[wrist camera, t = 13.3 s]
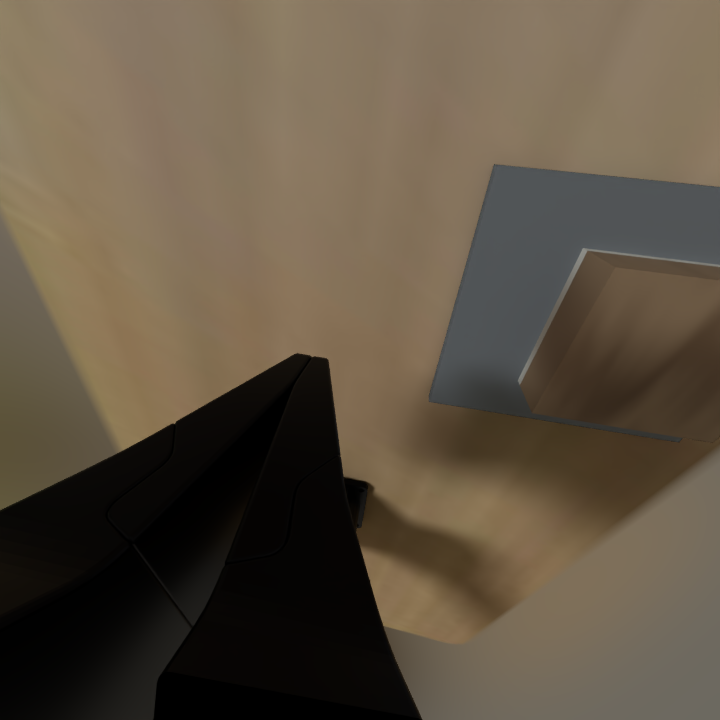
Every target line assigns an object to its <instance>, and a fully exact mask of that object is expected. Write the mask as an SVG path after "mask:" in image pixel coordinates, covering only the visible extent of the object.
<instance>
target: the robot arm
mask: <svg viewBox="0 0 720 720" xmlns="http://www.w3.org/2000/svg"><path fill="white" fill-rule="evenodd" d="M367 491H368V485H367V484H365V483H363V482H358V481H353V480H347V479H344V476H343V469H342V461H341V457H340V447H339V439H338V431H337V423H336V415H335V408H334V400H333V392H332V384H331V376H330V368H329V361H328V359H327V358H321V357H316V356H314V357H311V356H310V355H304V354H299V353H297V354H294V355H292V356H290V357H289V358H287V359H285V360H283V361H282V362H280V363H278V364H276V365H275V366H273V367H271V368H269V369H268V370H266V371H264V372H262V373H261V374H259V375H257V376H255V377H253V378H252V379H250V380H248V381H246V382H245V383H243V384H241V385H239V386H238V387H236V388H234V389H232V390H231V391H229V392H227V393H225V394H224V395H222V396H220V397H218V398H216V399H215V400H213V401H211V402H209V403H208V404H206V405H204V406H202V407H201V408H199V409H197V410H195V411H194V412H192V413H190V414H188V415H187V416H185V417H183V418H181V419H179V420H178V421H176V423H175V424H170V425H169V426H167V427H165V428H163V429H162V430H160V431H158V432H156V433H155V434H153V435H151V436H149V437H147V438H145V439H144V440H142V441H140V442H138V443H136V444H134V445H132V446H131V447H129V448H127V449H125V450H123V451H121V452H119V453H117V454H115V455H113V456H111V457H109V458H107V459H105V460H103V461H101V462H99V463H97V464H95V465H93V466H91V467H89V468H87V469H85V470H83V471H81V472H79V473H77V474H74V475H73V476H70V477H68V478H66V479H64V480H62V481H60V482H58V483H56V484H54V485H52V486H50V487H47V488H45V489H44V490H41V491H39V492H37V493H35V494H33V495H31V496H29V497H27V498H25V499H23V500H20V501H19V502H16V503H14V504H12V505H10V506H8V507H6V508H4V509H2V510H0V720H422V718H421V716H420V713H419V711H418V709H417V707H416V704H415V702H414V700H413V698H412V695H411V693H410V691H409V689H408V686H407V684H406V682H405V680H404V678H403V675H402V673H401V671H400V669H399V666H398V664H397V662H396V659H395V657H394V654H393V652H392V649H391V646H390V644H389V641H388V638H387V635H386V632H385V630H384V626H383V623H382V620H381V617H380V614H379V611H378V608H377V604H376V601H375V598H374V594H373V591H372V587H371V584H370V580H369V576H368V573H367V569H366V566H365V562H364V559H363V555H362V552H361V548H360V545H359V541H358V538H357V534H356V529H357V528H360V527H361V526H362V521H363V515H364V509H365V503H366V497H367Z"/></svg>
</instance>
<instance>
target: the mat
mask: <svg viewBox="0 0 720 720" xmlns="http://www.w3.org/2000/svg"><path fill="white" fill-rule="evenodd" d="M583 248H586V249H595V250H603V251H611V252H619V253H627V254H635V255H643V256H651V257H660V258H668V259H676V260H684V261H692V262H700V263H708V264H716V265H720V187H714V186H704V185H694V184H684V183H674V182H664V181H654V180H644V179H634V178H624V177H615V176H605V175H595V174H585V173H575V172H565V171H555V170H545V169H535V168H525V167H515V166H505V165H495V164H494V166H493V170H492V173H491V177H490V181H489V184H488V188H487V191H486V195H485V198H484V202H483V205H482V209H481V213H480V216H479V220H478V223H477V227H476V230H475V234H474V237H473V241H472V245H471V248H470V252H469V255H468V259H467V262H466V266H465V269H464V273H463V277H462V280H461V284H460V287H459V291H458V294H457V298H456V301H455V305H454V309H453V312H452V316H451V319H450V323H449V326H448V330H447V333H446V337H445V341H444V344H443V348H442V351H441V355H440V358H439V362H438V365H437V369H436V373H435V376H434V380H433V383H432V387H431V390H430V394H429V402H434V403H440V404H446V405H452V406H458V407H465V408H471V409H477V410H483V411H489V412H495V413H501V414H507V415H514V416H520V417H526V418H532V419H538V420H544V421H550V422H557V423H563V424H569V425H575V426H581V427H587V428H593V429H600V430H606V431H612V432H618V433H624V434H630V435H636V436H643V437H649V438H655V439H661V440H667V441H673V442H680V441H681V440H682V439H683V438H680V437H674V436H668V435H662V434H656V433H649V432H643V431H637V430H631V429H625V428H619V427H613V426H607V425H601V424H595V423H589V422H583V421H577V420H571V419H564V418H558V417H552V416H546V415H540V414H534V413H532V412H531V410H530V408H529V405H528V403H527V401H526V399H525V396H524V394H523V392H522V389H521V387H520V385H519V382H518V379H519V377H520V375H521V373H522V371H523V369H524V367H525V365H526V363H527V361H528V359H529V357H530V355H531V353H532V351H533V349H534V347H535V345H536V343H537V340H538V338H539V336H540V334H541V332H542V330H543V328H544V326H545V324H546V322H547V320H548V318H549V316H550V314H551V312H552V310H553V308H554V306H555V304H556V302H557V300H558V298H559V296H560V294H561V292H562V290H563V288H564V286H565V284H566V282H567V280H568V278H569V276H570V273H571V271H572V269H573V267H574V265H575V263H576V261H577V259H578V257H579V255H580V253H581V251H582V249H583Z"/></svg>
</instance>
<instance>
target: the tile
mask: <svg viewBox="0 0 720 720" xmlns="http://www.w3.org/2000/svg"><path fill="white" fill-rule="evenodd" d="M518 382H519V385H520V387H521V389H522V392H523V394H524V396H525V399H526V401H527V403H528V405H529V408H530V410H531V412H532V413H534V414H540V415H546V416H552V417H558V418H564V419H571V420H577V421H583V422H589V423H595V424H601V425H607V426H613V427H619V428H625V429H631V430H637V431H643V432H649V433H656V434H662V435H668V436H674V437H680V438H686V439H692V440H698V441H704V442H710V443H713V442H715V441H716V440H717V439H718V438H719V437H720V265H716V264H708V263H700V262H692V261H684V260H676V259H668V258H660V257H651V256H643V255H635V254H627V253H619V252H611V251H603V250H595V249H586V248H583V249H582V251H581V253H580V255H579V257H578V259H577V261H576V263H575V265H574V267H573V269H572V271H571V273H570V276H569V278H568V280H567V282H566V284H565V286H564V288H563V290H562V292H561V294H560V296H559V298H558V300H557V302H556V304H555V306H554V308H553V310H552V312H551V314H550V316H549V318H548V320H547V322H546V324H545V326H544V328H543V330H542V332H541V334H540V336H539V338H538V340H537V343H536V345H535V347H534V349H533V351H532V353H531V355H530V357H529V359H528V361H527V363H526V365H525V367H524V369H523V371H522V373H521V375H520V377H519V379H518Z"/></svg>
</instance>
